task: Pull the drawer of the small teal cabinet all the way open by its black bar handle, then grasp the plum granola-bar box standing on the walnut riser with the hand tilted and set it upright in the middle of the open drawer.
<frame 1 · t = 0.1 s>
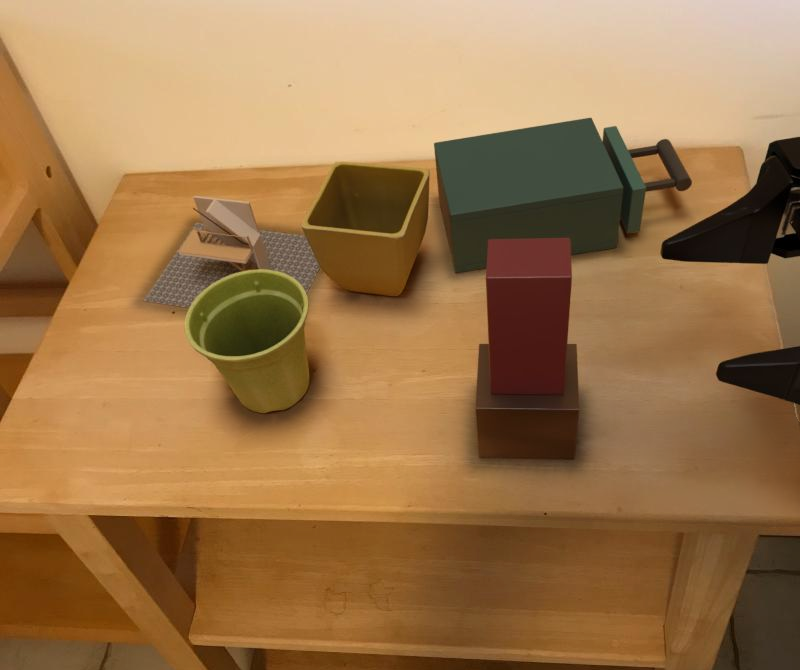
hand: (688, 306, 44), 18 cm above the table, tool horizontal, fingers open, 9 cm apart
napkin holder: (241, 271, 77), on the table
granola box: (527, 375, 57), point 6 cm above the table, touching riser
plant pot: (273, 386, 68), on the table
drawer: (579, 185, 74), point 3 cm above the table, slide at 1.0 cm
riser: (526, 425, 62), on the table
flower pot: (380, 278, 74), on the table
cabinet: (523, 223, 77), on the table
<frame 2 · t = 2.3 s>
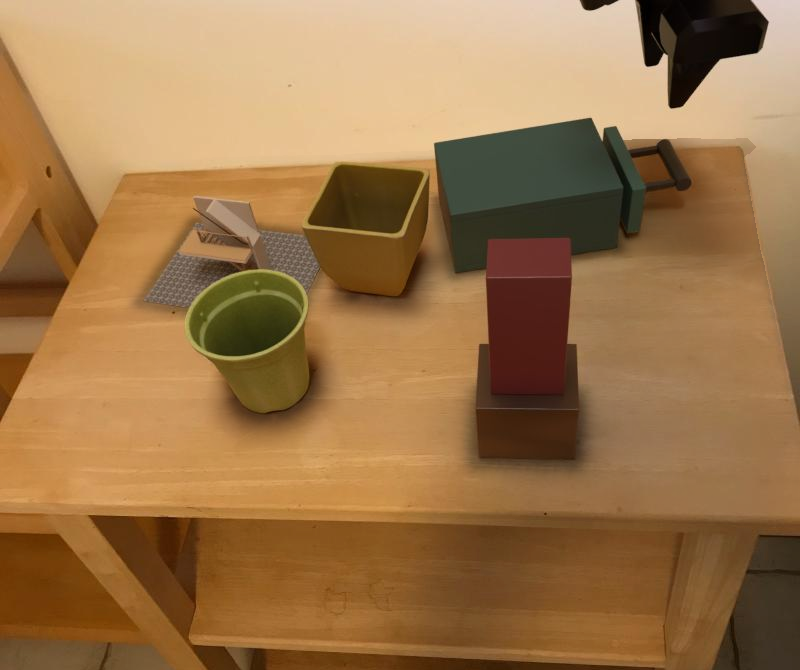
hand: (662, 85, 67), 12 cm above the table, tool pointing down, fingers open, 6 cm apart
nothing on the table moved.
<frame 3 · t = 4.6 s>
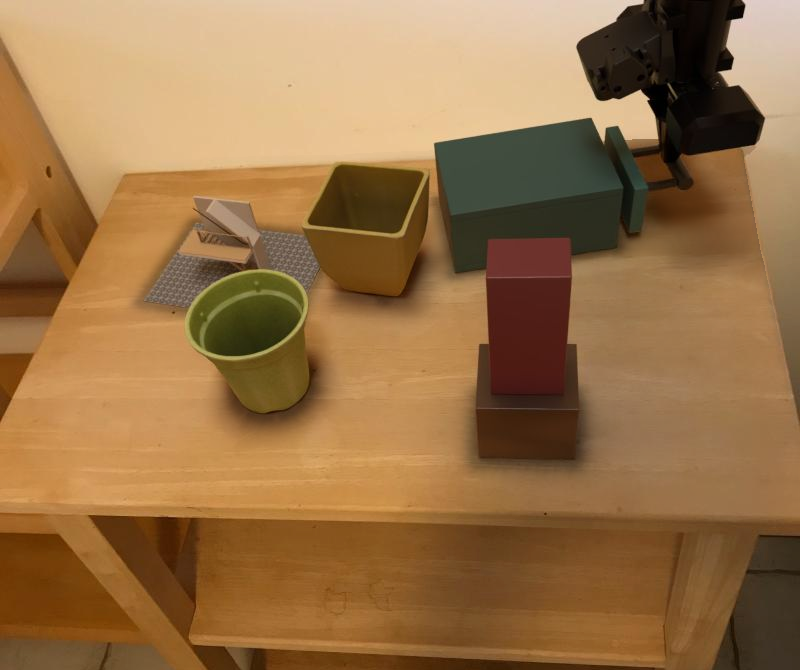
hand: (668, 160, 73), 5 cm above the table, tool pointing down, fingers closed, pressing on drawer
drawer: (581, 185, 74), point 3 cm above the table, slide at 1.2 cm, touching gripper
everything else where it was.
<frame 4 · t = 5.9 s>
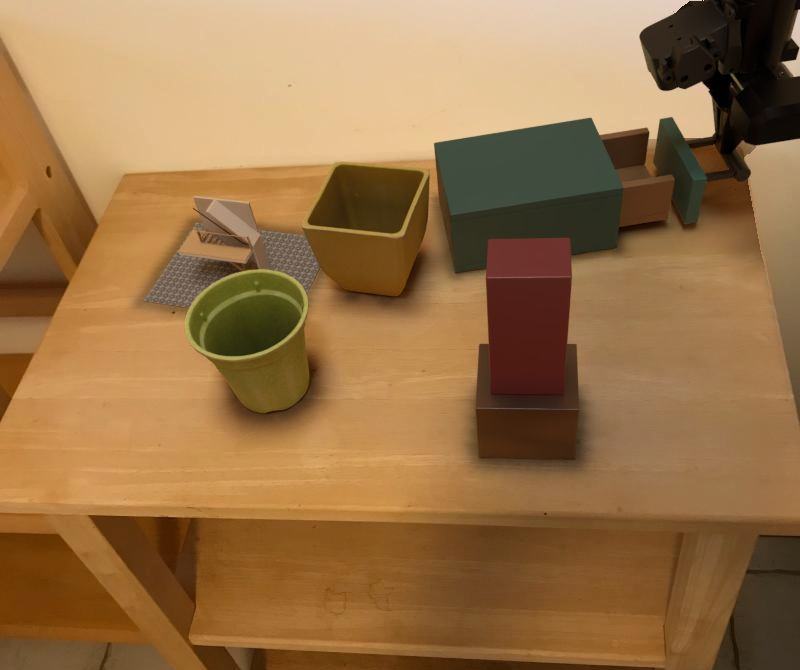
hand: (723, 151, 73), 5 cm above the table, tool pointing down, fingers closed, pressing on drawer
drawer: (636, 176, 74), point 3 cm above the table, slide at 6.2 cm, touching gripper
everything else where it was.
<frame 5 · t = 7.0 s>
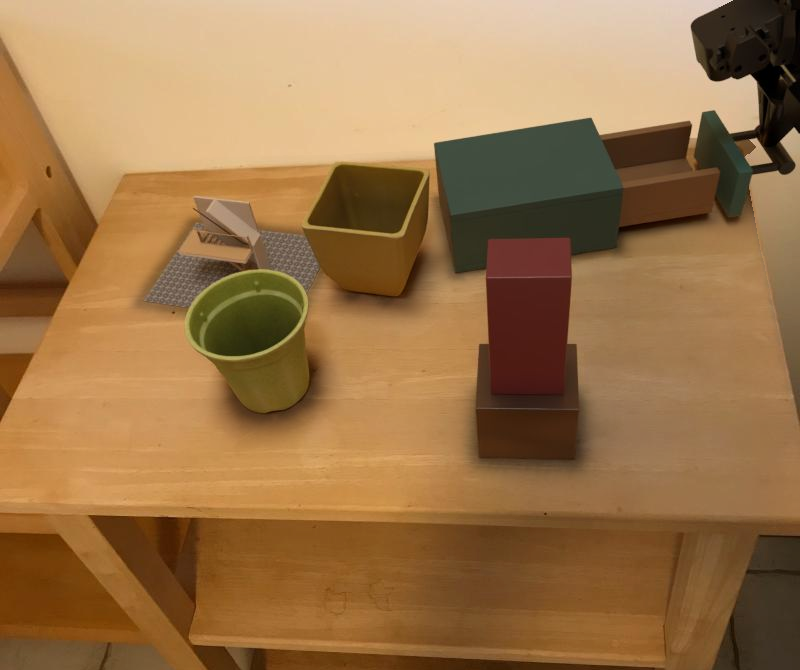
hand: (767, 144, 73), 5 cm above the table, tool pointing down, fingers closed, pressing on drawer
drawer: (679, 169, 74), point 3 cm above the table, slide at 10.1 cm, touching gripper
everything else where it was.
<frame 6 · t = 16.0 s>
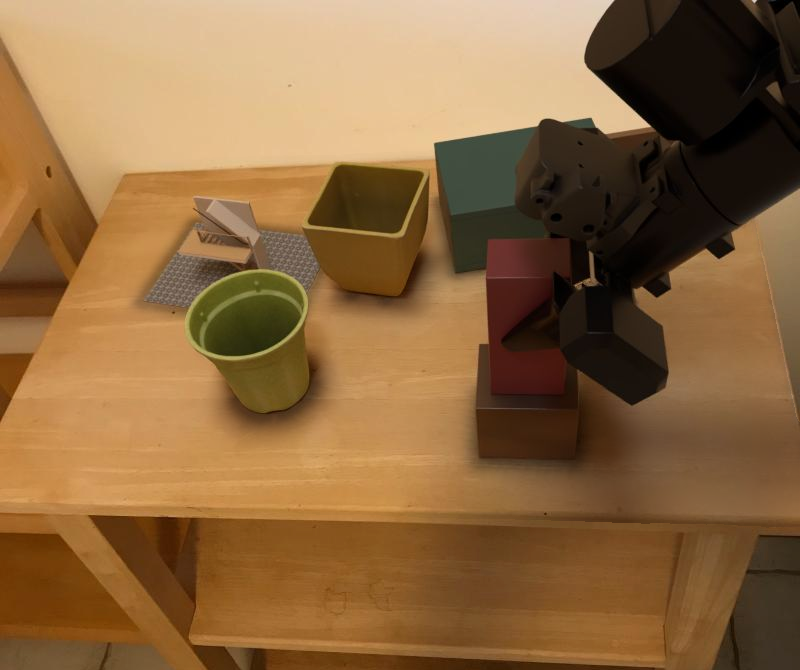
hand: (506, 324, 54), 11 cm above the table, tool tilted 45°, fingers closed on granola box, 3 cm apart
granola box: (527, 375, 57), point 6 cm above the table, touching gripper, riser
drawer: (678, 169, 74), point 3 cm above the table, slide at 10.0 cm
everything else where it was.
when the fingers open (7 cm above the table, at t = 26.1 s): granola box stays where it is, resting on drawer.
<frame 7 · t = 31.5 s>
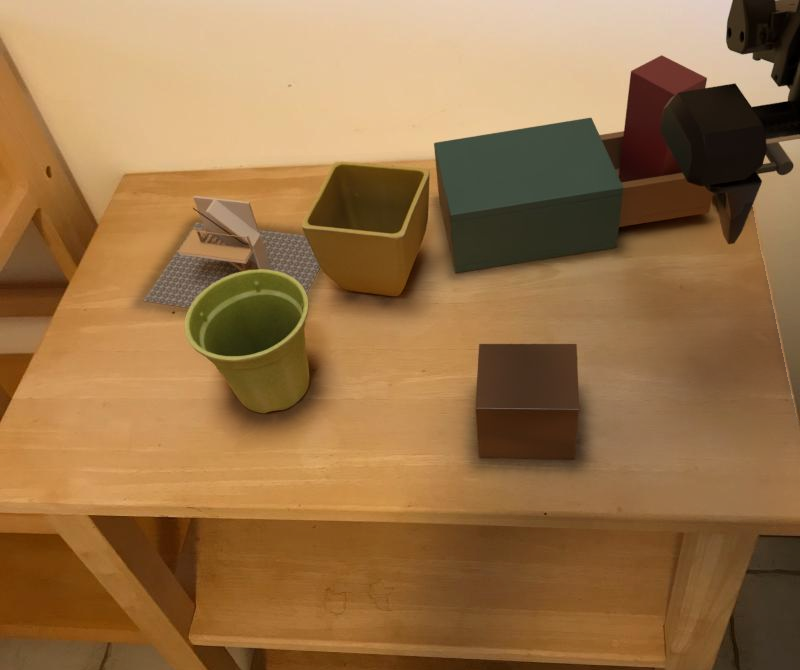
hand: (798, 228, 54), 13 cm above the table, tool pointing down, fingers open, 9 cm apart
granola box: (651, 185, 75), point 2 cm above the table, touching drawer
drawer: (677, 169, 74), point 3 cm above the table, slide at 9.9 cm, touching granola box
everything else where it was.
at the end: drawer slide at 9.9 cm; granola box inside the target area in the drawer (0.1 cm from its centre), point 2.0 cm above the cabinet's base; granola box tilted 0° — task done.
